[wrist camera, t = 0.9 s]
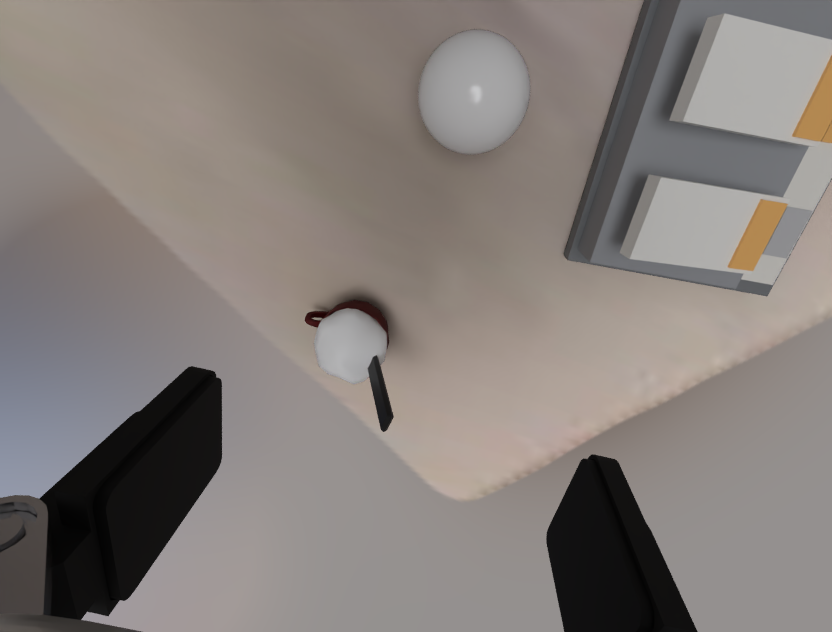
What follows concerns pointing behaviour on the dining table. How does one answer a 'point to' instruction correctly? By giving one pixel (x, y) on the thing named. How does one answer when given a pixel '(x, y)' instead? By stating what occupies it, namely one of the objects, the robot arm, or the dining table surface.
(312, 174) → the dining table surface
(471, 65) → the lightbulb
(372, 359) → the cocoa
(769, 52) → the switch
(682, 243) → the switch
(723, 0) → the switch unit
